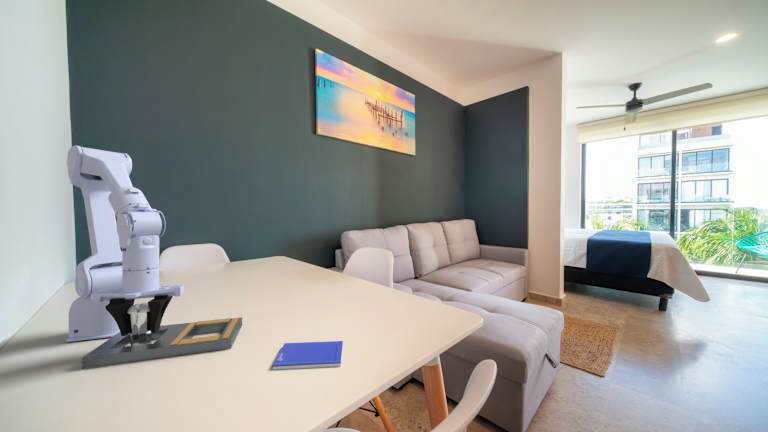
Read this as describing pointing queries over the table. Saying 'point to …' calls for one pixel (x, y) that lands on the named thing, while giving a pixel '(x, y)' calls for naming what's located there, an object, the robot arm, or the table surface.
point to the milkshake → (140, 324)
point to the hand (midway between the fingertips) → (141, 332)
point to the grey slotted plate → (166, 343)
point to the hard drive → (309, 355)
